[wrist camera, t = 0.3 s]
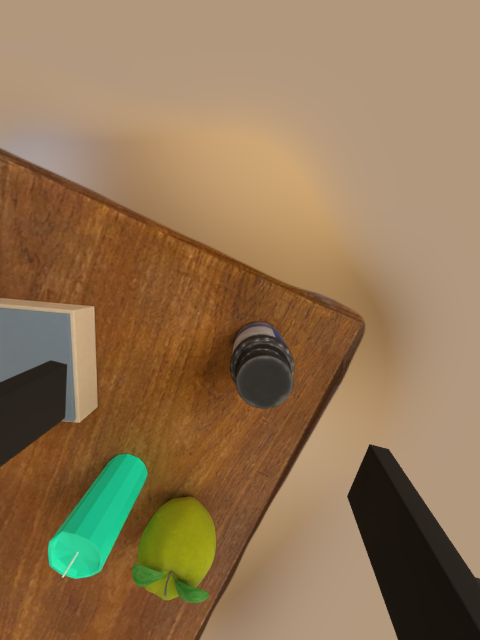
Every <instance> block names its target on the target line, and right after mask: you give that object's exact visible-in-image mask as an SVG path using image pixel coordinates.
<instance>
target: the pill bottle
mask: <svg viewBox="0 0 480 640" xmlns="http://www.w3.org/2000/svg"><path fill="white" fill-rule="evenodd" d="M230 372H231V376H232V379H233V381H234V383H235V384H236V387H237V390H238V393H239V395H240V396H241V398H242V399H243V400H244V401H245V402H246V403H248V404H249V405H251V406H253V407H256V408H261V409H268V408H274V407H276V406H278V405H280V404H281V403H283V402H284V401H285V400H286V399H287V398H288V397H289V395H290V393H291V391H292V388H293V374H294V360H293V356H292V354H291V352H290V350H289V349H288V347H287V345H286V344H285V342H284V340H283V338H282V337H281V335H280V333H279V332H278V331H277V330H276V329H275V328H274V327H273V326H272V325H270V324H268V323H265V322H252V323H250V324H247V325H245V326H244V327H243V328H242V329H241V330H240V331H239V332H238V334H237V335H236V338H235V342H234V346H233V351H232V356H231V361H230Z"/></svg>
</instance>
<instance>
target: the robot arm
mask: <svg viewBox="0 0 480 640" xmlns="http://www.w3.org/2000/svg"><path fill="white" fill-rule="evenodd" d="M66 384H67V364H64V363H60V362H56V361H52V360H50V361H48V362H45V363H43V364H41V365H39V366H36V367H34V368H32V369H29V370H27V371H25V372H22V373H20V374H18V375H16V376H13V377H11V378H9V379H6V380H4V381H2V382H0V467H1V466H2V465H3V464H5V463H6V462H7V461H9V460H10V459H11V458H13V457H14V456H15V455H17V454H18V453H19V452H21V451H22V450H23V449H25V448H26V447H27V446H29V445H30V444H31V443H33V442H34V441H35V440H37V439H38V438H39V437H41V436H42V435H43V434H45V433H46V432H47V431H49V430H50V429H51V428H53V427H54V426H55V425H57V424H58V423H59V422H61V421H62V420H63V419H64V418H65V411H66ZM347 497H348V500H349V503H350V505H351V508H352V511H353V514H354V517H355V520H356V522H357V525H358V528H359V531H360V534H361V536H362V539H363V542H364V545H365V547H366V551H367V553H368V556H369V559H370V561H371V565H372V567H373V570H374V573H375V576H376V579H377V582H378V584H379V587H380V590H381V593H382V596H383V598H384V601H385V604H386V607H387V610H388V613H389V615H390V618H391V621H392V624H393V627H394V629H395V632H396V635H397V638H398V640H480V579H479V578H475V577H474V575H473V574H472V572H471V571H470V569H469V568H468V566H467V565H466V563H465V562H464V560H463V559H462V557H461V556H460V554H459V553H458V551H457V550H456V548H455V547H454V545H453V544H452V543H451V541H450V540H449V538H448V537H447V535H446V534H445V532H444V531H443V529H442V528H441V526H440V525H439V523H438V522H437V520H436V519H435V517H434V516H433V514H432V513H431V511H430V510H429V508H428V507H427V505H426V504H425V502H424V501H423V499H422V498H421V497H420V495H419V494H418V492H417V491H416V489H415V488H414V486H413V485H412V483H411V482H410V480H409V479H408V477H407V476H406V474H405V473H404V471H403V470H402V468H401V467H400V465H399V464H398V462H397V461H396V459H395V458H394V456H393V455H392V453H391V452H390V451H389V449H386V448H382V447H378V446H374V445H369V447H368V449H367V452H366V454H365V456H364V459H363V461H362V463H361V466H360V468H359V470H358V472H357V475H356V477H355V479H354V482H353V484H352V486H351V489H350V491H349V493H348V496H347Z"/></svg>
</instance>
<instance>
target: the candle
mask: <svg viewBox="0 0 480 640" xmlns="http://www.w3.org/2000/svg"><path fill="white" fill-rule="evenodd" d="M147 475H148V473H147V469H146V465H145V464H144V463H143V462H142V461H141V460H140V459H139V458H138V457H135V456H133V455H130V454H122V455H117V456H115V457H114V458H113V459H111V460H110V461H109V462H108V464H107V465H106V466H105V468H104V469H103V470H102V472H101V473H100V475H99V476H98V477H97V479H96V480H95V481H94V483H93V484H92V485H91V487H90V488H89V489H88V491H87V492H86V493H85V495H84V496H83V497H82V499H81V500H80V501H79V503H78V504H77V505H76V507H75V508H74V509H73V511H72V512H71V514H70V515H69V516H68V518H67V519H66V520H65V522H64V523H63V524H62V526H61V527H60V528H59V530H58V531H57V532H56V534H55V535H54V536H53V538H52V539H51V540H50V542H49V547H48V556H49V566H50V567H52V568H53V569H54V570H56V571H57V572H59V573H60V574H61V575H63V576H62V578H64V576H68V577H71V578H75V579H78V578H83V577H89V576H92V575H94V574H96V573H98V572H100V571H101V569H102V567H103V565H104V563H105V561H106V559H107V557H108V555H109V553H110V551H111V549H112V547H113V545H114V543H115V541H116V539H117V537H118V535H119V533H120V531H121V529H122V527H123V525H124V523H125V521H126V519H127V517H128V515H129V513H130V511H131V509H132V507H133V505H134V503H135V501H136V499H137V497H138V495H139V493H140V491H141V489H142V487H143V485H144V483H145V480H146V478H147Z"/></svg>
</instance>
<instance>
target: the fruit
mask: <svg viewBox="0 0 480 640" xmlns="http://www.w3.org/2000/svg"><path fill="white" fill-rule="evenodd" d="M215 548H216V534H215V527H214V523H213V520H212V518H211V516H210V514H209V513H208V511H207V510H206V509H205V507H204V506H203V505H202V504H201V503H200V502H199V500H197V499H196V498H194V497H191V496H190V497H182V498H174V499H172V500H170V501H168V502H166V503H165V504H164V505H162V506H161V507H160V508H159V509H158V510H157V512H156V513H155V514H154V516H153V517H152V519H151V520H150V521H149V523H148V525H147V526H146V528H145V530H144V532H143V534H142V537H141V540H140V543H139V547H138V554H137V564H135V563H134V564H133V570H132V574H133V579H134V582H135V583H136V584H137V585H138V586H142V587H143V586H144V587H145V589H146V590H147V591H149V592H151V593H154V594H156V595H158V596H159V597H160V598H161V599H163V600H171V599H173V598H176V597H178V596H179V597H180V598H181V599H182V600H184V601H186V602H189V603H199V602H202V601H204V600H206V599H207V598H208V597H209V594H208V593H207V592H206V591H204V590H201V589H197V588H196V587H197V586H198V585H199V583H200V582H201V581H202V579H203V578H204V577H205V575H206V573H207V572H208V570H209V569H210V567H211V564H212V562H213V559H214V555H215Z"/></svg>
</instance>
